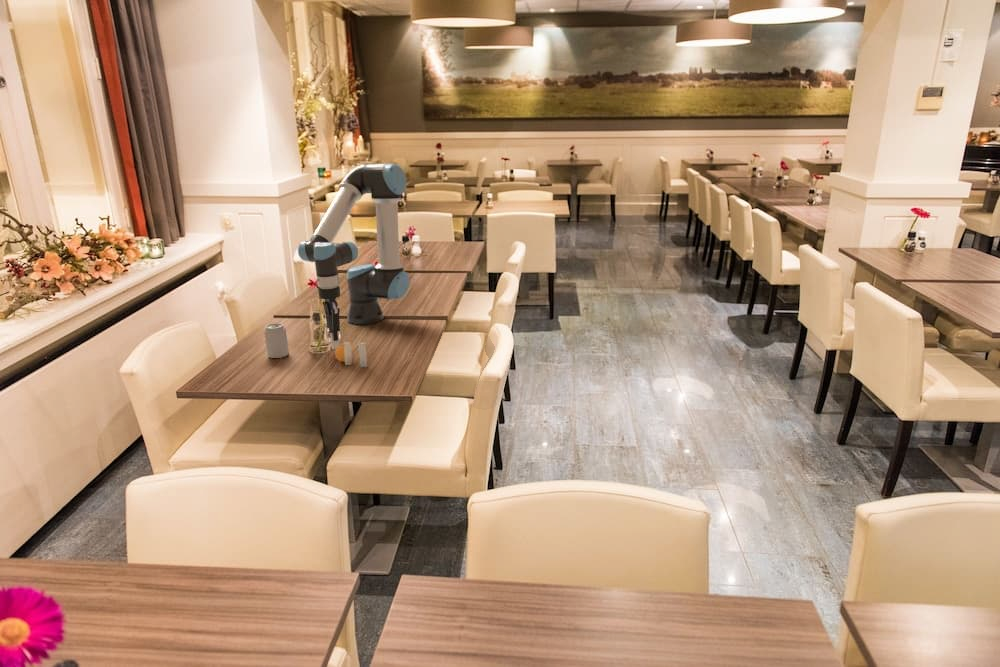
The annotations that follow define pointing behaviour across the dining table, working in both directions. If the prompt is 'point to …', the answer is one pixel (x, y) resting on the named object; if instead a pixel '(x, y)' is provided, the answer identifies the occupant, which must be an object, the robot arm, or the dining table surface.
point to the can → (276, 340)
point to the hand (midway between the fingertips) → (335, 347)
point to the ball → (340, 353)
